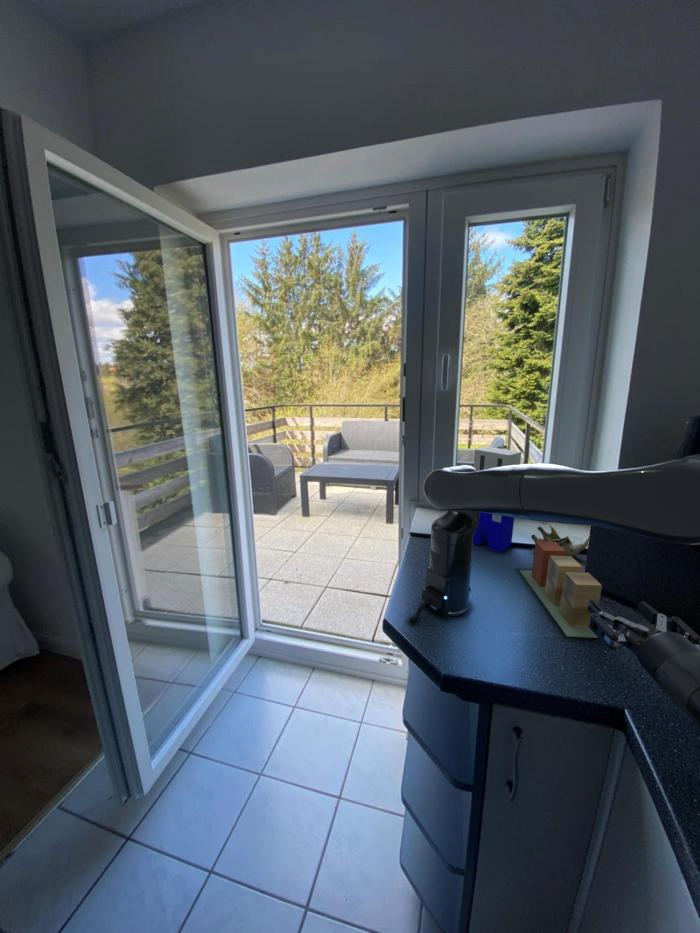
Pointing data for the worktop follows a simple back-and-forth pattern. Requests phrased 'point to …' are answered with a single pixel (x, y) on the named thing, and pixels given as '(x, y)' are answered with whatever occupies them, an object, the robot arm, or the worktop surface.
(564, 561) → the maple block
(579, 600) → the maple block
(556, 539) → the jawbone
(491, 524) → the toy
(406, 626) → the worktop surface
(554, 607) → the mat
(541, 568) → the terracotta block
